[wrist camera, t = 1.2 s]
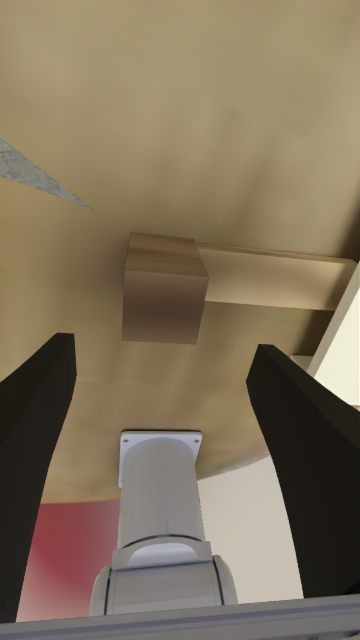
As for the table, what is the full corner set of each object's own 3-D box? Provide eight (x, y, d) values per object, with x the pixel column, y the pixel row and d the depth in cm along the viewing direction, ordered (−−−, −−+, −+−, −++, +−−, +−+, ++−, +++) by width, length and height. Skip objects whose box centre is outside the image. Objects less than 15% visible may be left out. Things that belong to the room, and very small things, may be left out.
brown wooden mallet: (329, 305, 23) (381, 354, 18) (128, 289, 21) (121, 340, 16) (352, 256, 21) (417, 296, 16) (130, 232, 19) (124, 269, 13)
